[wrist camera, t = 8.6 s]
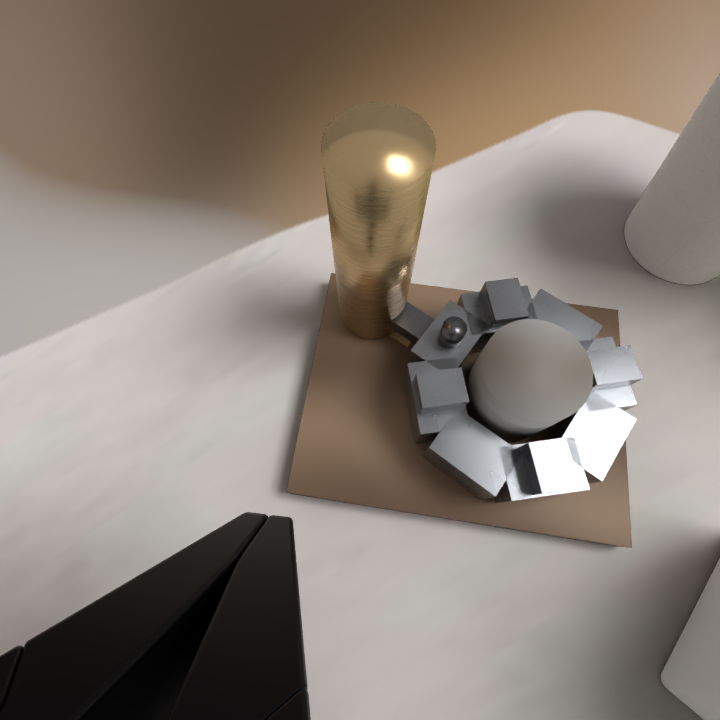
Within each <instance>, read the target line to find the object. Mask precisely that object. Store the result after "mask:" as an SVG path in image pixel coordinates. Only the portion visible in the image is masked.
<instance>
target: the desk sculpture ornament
mask: <svg viewBox="0 0 720 720" xmlns="http://www.w3.org/2000/svg"><path fill="white" fill-rule="evenodd" d="M435 151H436V142H435V137H434V134H433V131H432V129H431V128H430V126H429V125H428V124H427V122H426V121H425V120H424V119H423V118H422V117H421V116H419V115H418V114H417V113H415V112H414V111H412V110H410V109H408V108H406V107H403V106H400V105H397V104H392V103H385V102H371V103H364V104H360V105H356V106H353V107H351V108H349V109H347V110H345V111H343V112H341V113H340V114H338V115H337V116H336V117H335V118H334V119H333V120H332V121H331V122H330V123H329V124H328V126H327V127H326V129H325V131H324V133H323V136H322V141H321V152H322V160H323V169H324V178H325V187H326V196H327V203H328V213H329V222H330V231H331V239H332V248H333V257H334V265H335V274H336V283H337V292H338V300H339V309H340V316H341V319H342V321H343V323H344V325H345V326H346V328H347V329H348V330H349V331H351V332H352V333H353V334H355V335H357V336H359V337H362V338H367V339H378V338H383V337H386V336H388V335H390V334H391V333H393V332H394V331H396V332H397V333H399V334H400V335H402V336H403V337H405V338H406V339H408V340H409V341H411V342H412V343H414V344H415V345H414V347H413V348H412V349H411V351H410V355H409V359H408V362H407V366H406V371H405V375H404V378H403V382H404V387H405V393H406V398H407V404H408V410H409V415H410V421H411V427H412V432H413V438H414V443H415V444H418V443H425V442H431V444H430V445H429V447H428V448H427V449H426V451H425V452H424V454H423V455H422V456H423V457H424V458H426V459H427V460H428V461H430V462H431V463H432V464H434V465H435V466H436V467H438V468H439V469H440V470H442V471H443V472H444V473H446V474H447V475H448V476H450V477H451V478H452V479H454V480H455V481H457V482H458V483H459V484H461V485H462V486H463V487H465V488H466V489H467V490H469V491H470V492H471V493H473V494H474V495H475V496H477V497H478V498H479V499H481V500H482V499H486V498H491V497H494V501H495V503H502V502H509V501H516V500H523V499H530V498H537V497H544V496H551V495H558V494H565V493H571V492H578V491H585V490H590V488H589V485H588V484H591V483H596V482H602V481H603V479H604V477H605V476H606V474H607V472H608V470H609V468H610V467H611V465H612V463H613V461H614V459H615V458H616V456H617V454H618V452H619V450H620V449H621V447H622V445H623V443H624V441H625V440H626V438H627V436H628V434H629V432H630V430H631V429H632V427H633V425H634V423H635V421H636V420H637V419H636V418H634V417H633V416H631V415H630V414H628V413H627V412H625V410H627V409H629V408H631V407H634V406H636V405H637V402H636V400H635V397H634V394H633V392H632V389H631V386H630V385H631V384H633V383H635V382H637V381H639V380H641V379H643V378H642V375H641V373H640V370H639V367H638V365H637V362H636V359H635V357H634V354H633V352H632V349H631V346H630V345H628V346H621V347H616V345H615V343H614V340H613V337H606V338H599V339H595V337H596V336H597V334H598V333H599V331H600V329H601V328H602V325H601V324H599V323H597V322H596V321H594V320H592V319H591V318H589V317H587V316H586V315H584V314H582V313H581V312H579V311H577V310H576V309H574V308H572V307H571V306H569V305H567V304H566V303H564V302H562V301H561V300H559V299H557V298H556V297H554V296H552V295H551V294H549V293H547V292H546V291H544V290H542V289H540V290H539V292H538V293H537V294H536V296H535V297H534V298H533V300H532V299H531V296H530V293H529V289H528V286H521V287H520V284H519V280H518V278H513V279H505V280H497V281H488V282H485V283H484V285H483V287H482V289H481V291H480V292H472V293H464V294H461V295H460V298H459V300H458V302H457V304H456V303H454V302H452V301H451V300H449V302H448V303H447V304H446V306H445V307H444V308H443V309H442V311H441V312H440V313H439V315H438V316H437V317H436V318H435V319H433V318H432V317H430V316H429V315H427V314H426V313H424V312H422V311H421V310H419V309H418V308H416V307H415V306H413V305H412V304H410V303H409V302H407V298H408V292H409V287H410V282H411V277H412V271H413V266H414V261H415V256H416V251H417V245H418V240H419V235H420V230H421V225H422V219H423V214H424V209H425V204H426V199H427V193H428V188H429V183H430V178H431V172H432V167H433V162H434V157H435ZM523 319H538V320H544V321H547V322H551V323H553V324H556V325H558V326H560V327H562V328H563V329H565V330H566V331H568V332H569V333H571V334H572V335H573V336H574V337H575V338H576V339H577V340H578V341H579V342H580V343H581V345H582V346H583V348H584V349H585V351H586V353H587V354H588V356H589V359H590V362H591V365H592V370H593V385H592V389H591V392H590V395H589V397H588V399H587V401H586V402H585V403H584V405H583V406H582V407H581V408H580V409H579V410H578V411H577V412H575V413H574V414H572V415H571V416H569V417H567V418H565V419H563V420H561V421H559V422H557V423H555V424H554V426H553V427H552V429H551V431H550V432H549V434H548V435H547V437H546V439H545V440H543V441H536V442H529V443H526V444H518V445H510V444H509V443H507V442H506V441H504V440H503V439H501V438H500V437H499V436H497V435H496V434H494V433H493V432H491V431H490V430H489V429H487V428H486V427H484V426H483V425H481V424H480V423H478V422H477V421H476V420H474V419H473V418H471V417H470V416H468V413H467V409H466V405H467V404H468V403H469V398H468V393H467V389H466V385H465V380H464V376H463V371H462V367H461V365H462V364H463V363H464V361H465V360H466V358H467V357H468V356H469V354H470V353H471V352H478V351H482V350H483V349H484V347H485V346H486V344H487V343H488V341H489V340H490V338H491V337H492V336H493V335H494V333H495V332H496V331H498V330H499V329H500V328H502V327H503V326H505V325H507V324H509V323H511V322H514V321H517V320H523Z"/></svg>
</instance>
